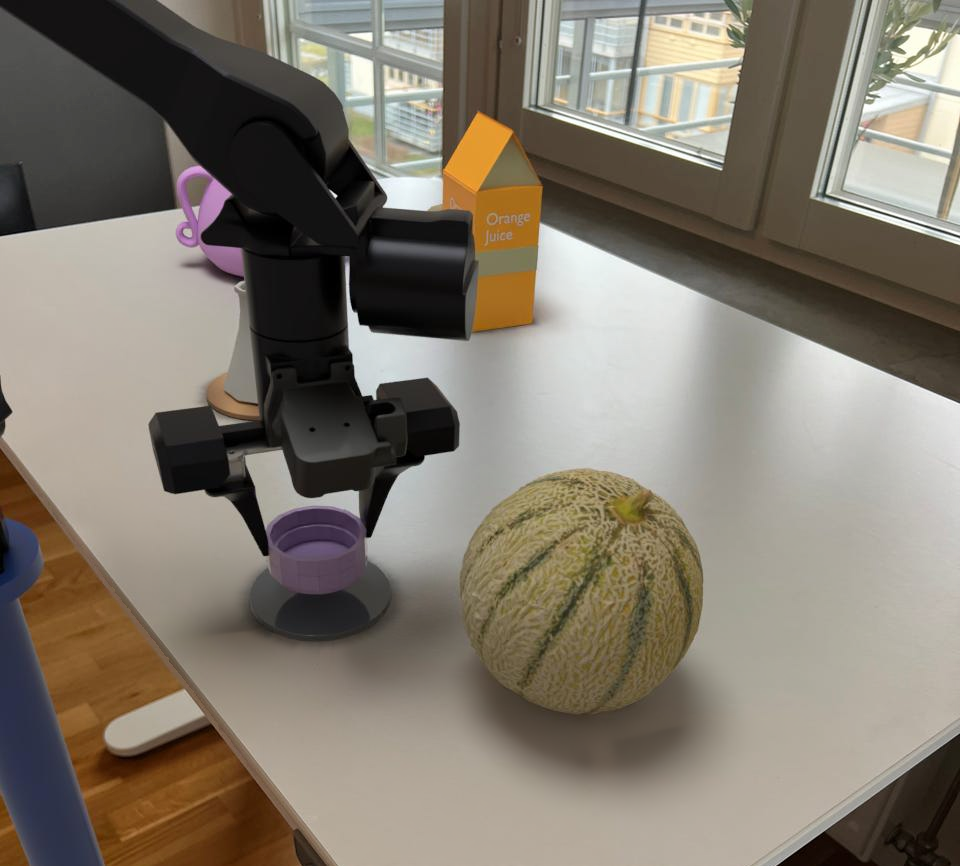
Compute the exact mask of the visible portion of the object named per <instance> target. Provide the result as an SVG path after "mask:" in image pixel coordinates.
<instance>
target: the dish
mask: <svg viewBox="0 0 960 866" xmlns="http://www.w3.org/2000/svg"><path fill="white" fill-rule="evenodd" d="M266 525H267V526H266V527H265V530H266V534H267V538H268V545H269V546H268V552H269V556H265V557H266V565H267V568H269V571H270V574H271V576H272V577H273V578H275V579H276V580H277V581H278V582H279V583H280V584H281V585H283V586H284V587H285V588H287V589H289V590H292V591H295V592H298V593H303V594H327V593H332V592H336V591H339V590H342V589H344V588H346V587H348V586H350V585H351V584H353V583H354V582H355V581H356V580H357V579H358V578H359V577H360V575H361V574H362V573H363V572H364V571H365V569H366V565H367V560H368V559H369V556H368V538H367V530H366V528H365V526H364V525H363V523H362V521H361V519H360V516H357V515H355V514H354V513H353V512H351V511H350V510H346V509H342V508H340V507H336V506H332V505H308V506H302V507H296V508H292V509H289V510H287V511H285V512H283V513H280V514H278V515H277V516H276V517H275V518H273V520H271V521H270V522H269V523H268V524H266ZM368 561H369V560H368Z"/></svg>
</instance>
